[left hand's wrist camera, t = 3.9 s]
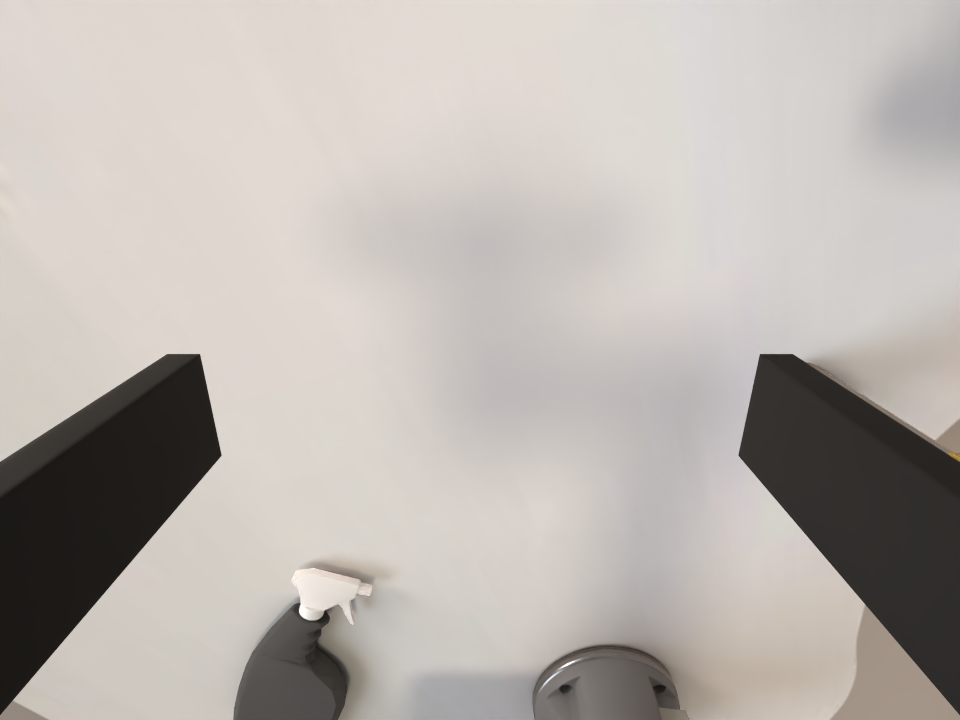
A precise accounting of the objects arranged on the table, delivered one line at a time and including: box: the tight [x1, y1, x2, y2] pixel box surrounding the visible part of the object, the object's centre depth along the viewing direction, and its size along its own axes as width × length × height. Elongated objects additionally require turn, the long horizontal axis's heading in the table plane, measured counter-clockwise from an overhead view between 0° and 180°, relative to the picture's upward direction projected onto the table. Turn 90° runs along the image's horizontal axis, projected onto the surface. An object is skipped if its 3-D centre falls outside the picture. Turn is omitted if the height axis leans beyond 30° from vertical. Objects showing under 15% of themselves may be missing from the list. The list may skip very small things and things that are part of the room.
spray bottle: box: [234, 568, 373, 720], centre depth 53 cm, size 3×11×24 cm
